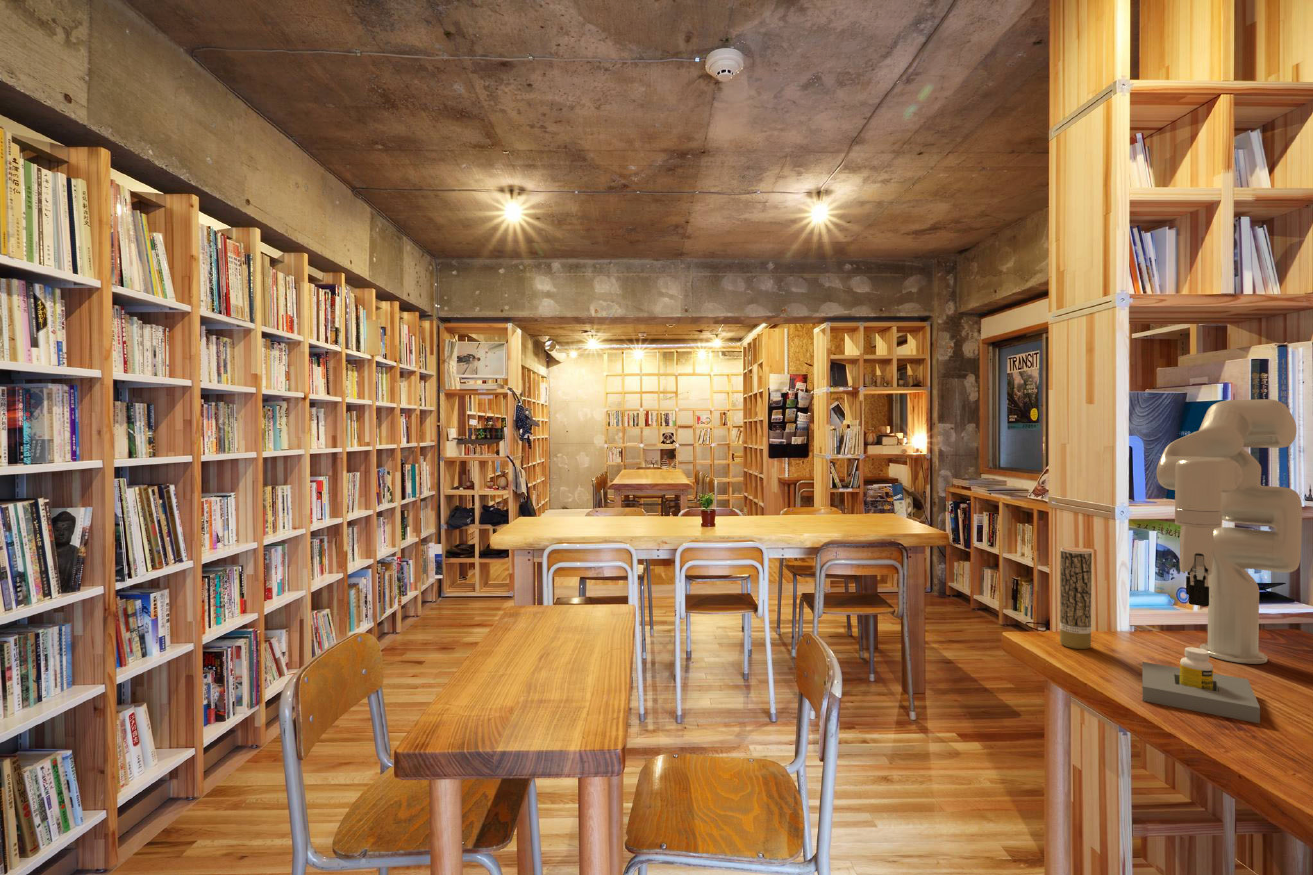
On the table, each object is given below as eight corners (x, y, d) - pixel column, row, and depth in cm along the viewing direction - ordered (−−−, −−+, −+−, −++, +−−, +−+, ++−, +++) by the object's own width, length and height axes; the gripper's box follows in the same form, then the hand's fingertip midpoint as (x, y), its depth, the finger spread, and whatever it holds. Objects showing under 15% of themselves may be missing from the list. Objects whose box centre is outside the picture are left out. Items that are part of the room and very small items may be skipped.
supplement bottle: (1204, 703, 135) (1205, 656, 135) (1174, 694, 140) (1174, 648, 140) (1217, 699, 138) (1218, 652, 138) (1187, 689, 143) (1188, 644, 143)
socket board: (1142, 674, 151) (1142, 661, 151) (1247, 693, 141) (1247, 679, 141) (1142, 700, 137) (1142, 686, 137) (1259, 723, 126) (1260, 707, 126)
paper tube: (1095, 651, 168) (1096, 552, 168) (1066, 649, 169) (1066, 551, 169) (1084, 642, 174) (1084, 547, 174) (1055, 641, 176) (1056, 546, 176)
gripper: (1173, 512, 148) (1172, 589, 148) (1176, 521, 134) (1175, 606, 134) (1217, 515, 143) (1216, 594, 144) (1225, 524, 129) (1224, 612, 130)
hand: (1197, 600), depth 139 cm, fingers open, 9 cm apart
